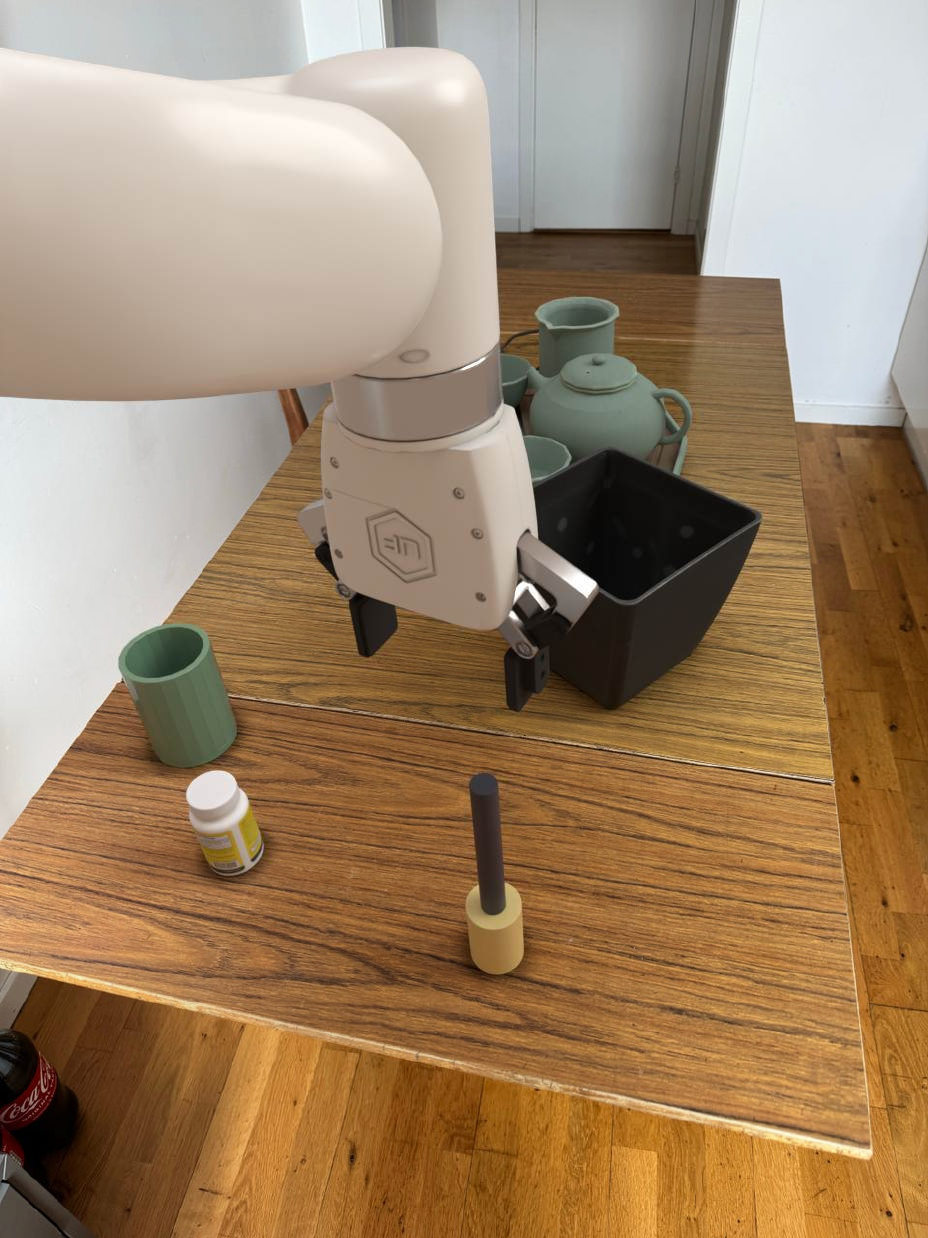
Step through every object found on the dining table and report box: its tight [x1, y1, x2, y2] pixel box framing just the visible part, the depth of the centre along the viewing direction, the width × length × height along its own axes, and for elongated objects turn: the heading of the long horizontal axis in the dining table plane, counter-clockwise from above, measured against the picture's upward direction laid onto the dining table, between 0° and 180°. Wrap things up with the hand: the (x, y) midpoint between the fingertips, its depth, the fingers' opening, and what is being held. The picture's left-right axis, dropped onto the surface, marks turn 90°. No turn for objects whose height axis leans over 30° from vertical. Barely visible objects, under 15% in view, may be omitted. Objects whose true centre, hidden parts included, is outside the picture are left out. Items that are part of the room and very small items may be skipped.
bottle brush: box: [464, 772, 525, 976], centre depth 61 cm, size 4×4×19 cm
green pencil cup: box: [117, 622, 238, 769], centre depth 83 cm, size 8×8×11 cm
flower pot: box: [512, 447, 763, 709], centre depth 86 cm, size 19×19×17 cm
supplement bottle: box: [185, 769, 264, 877], centre depth 73 cm, size 5×5×8 cm
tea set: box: [501, 296, 694, 485], centre depth 117 cm, size 40×40×16 cm
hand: (449, 667), depth 50 cm, fingers open, 9 cm apart
